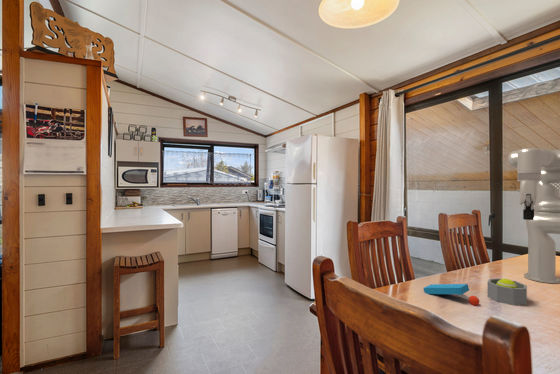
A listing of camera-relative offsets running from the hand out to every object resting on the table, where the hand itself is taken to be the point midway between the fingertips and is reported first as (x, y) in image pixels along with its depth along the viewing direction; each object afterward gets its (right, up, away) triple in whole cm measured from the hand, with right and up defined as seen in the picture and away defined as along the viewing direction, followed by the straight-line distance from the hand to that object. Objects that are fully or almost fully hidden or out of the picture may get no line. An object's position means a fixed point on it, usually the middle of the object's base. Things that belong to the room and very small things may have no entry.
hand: (528, 218), depth 119 cm
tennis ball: (-16, -30, -8) cm, 35 cm away
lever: (-37, -31, -7) cm, 49 cm away
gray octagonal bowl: (-16, -30, -8) cm, 35 cm away
